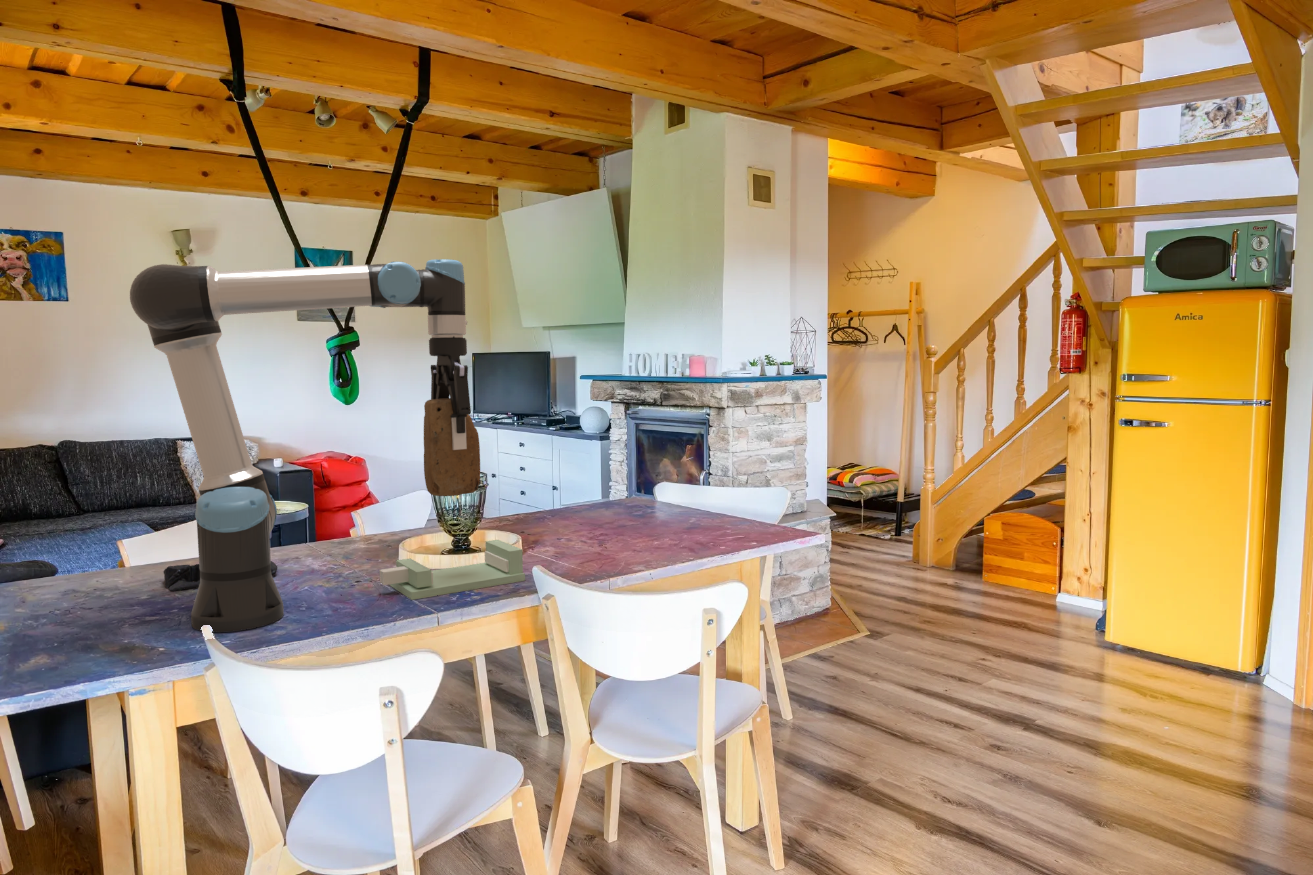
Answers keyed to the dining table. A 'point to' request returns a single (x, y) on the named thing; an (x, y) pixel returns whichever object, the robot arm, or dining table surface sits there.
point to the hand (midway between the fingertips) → (451, 447)
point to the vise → (473, 573)
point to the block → (449, 452)
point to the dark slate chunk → (188, 576)
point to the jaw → (407, 574)
